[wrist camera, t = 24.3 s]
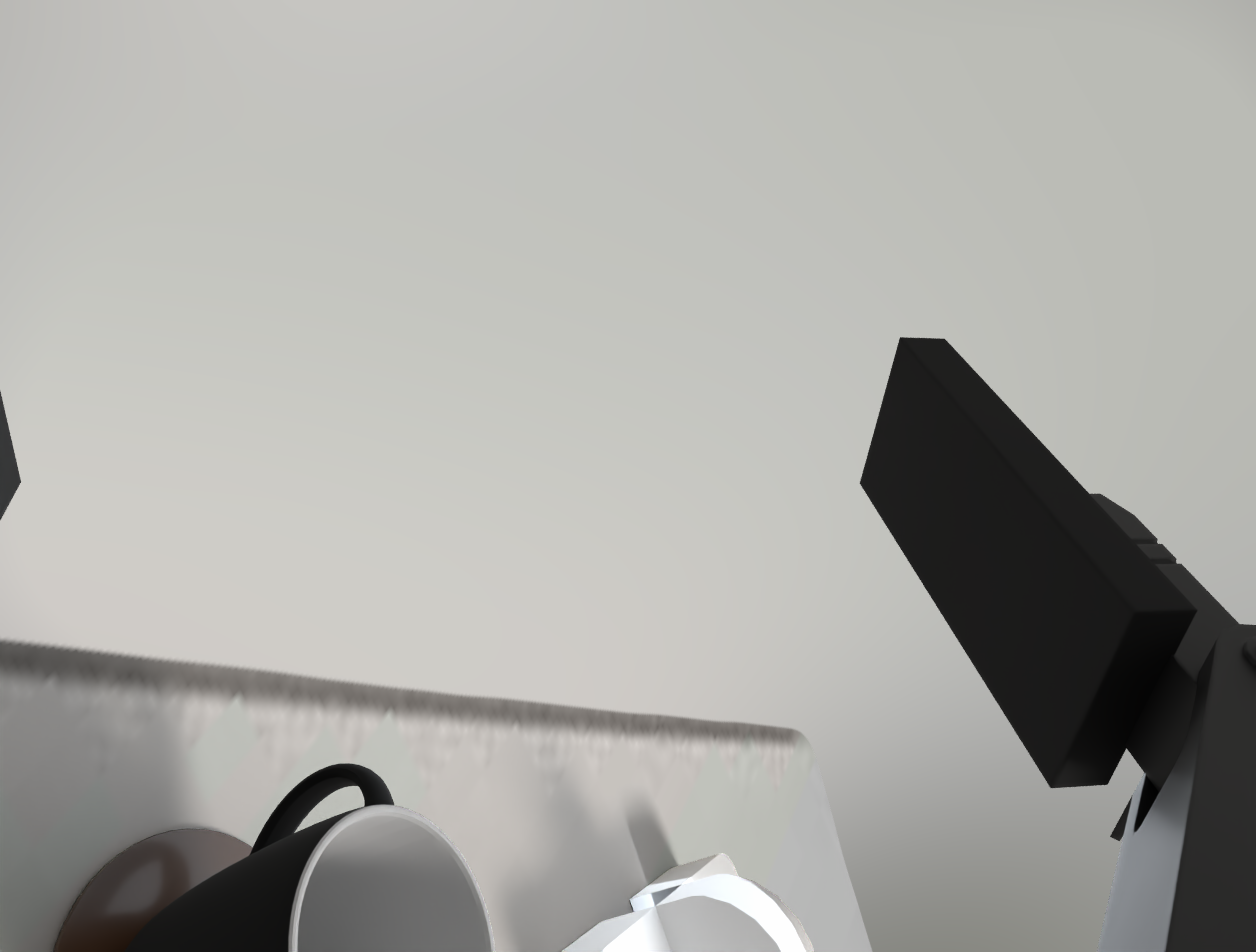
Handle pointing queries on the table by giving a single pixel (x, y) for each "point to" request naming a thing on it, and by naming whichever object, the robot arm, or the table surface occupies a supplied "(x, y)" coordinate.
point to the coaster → (144, 886)
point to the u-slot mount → (700, 916)
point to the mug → (333, 884)
